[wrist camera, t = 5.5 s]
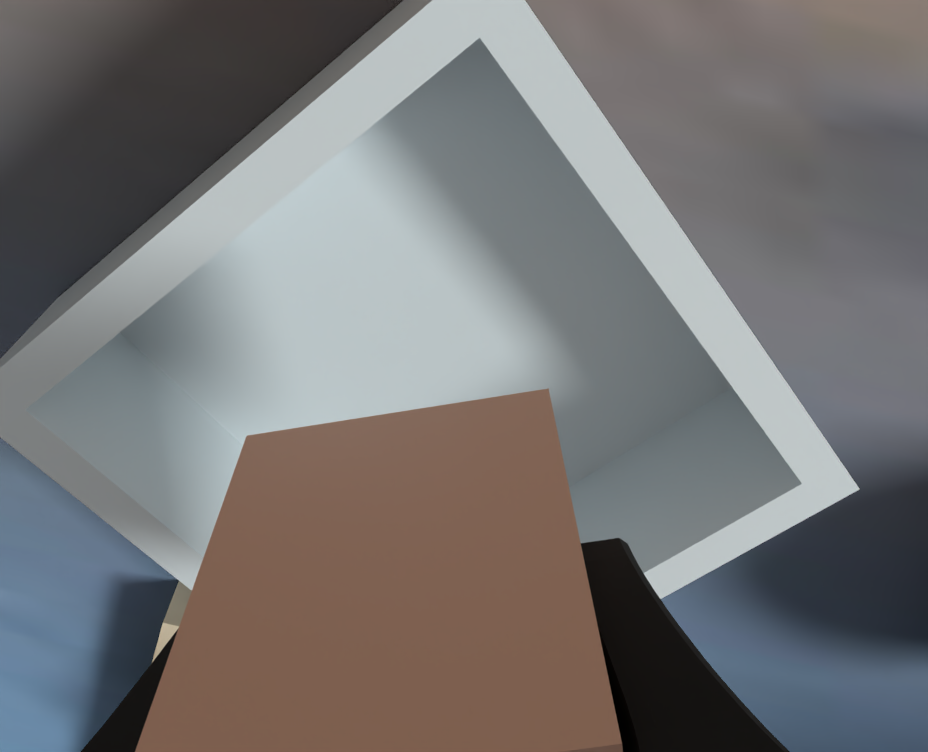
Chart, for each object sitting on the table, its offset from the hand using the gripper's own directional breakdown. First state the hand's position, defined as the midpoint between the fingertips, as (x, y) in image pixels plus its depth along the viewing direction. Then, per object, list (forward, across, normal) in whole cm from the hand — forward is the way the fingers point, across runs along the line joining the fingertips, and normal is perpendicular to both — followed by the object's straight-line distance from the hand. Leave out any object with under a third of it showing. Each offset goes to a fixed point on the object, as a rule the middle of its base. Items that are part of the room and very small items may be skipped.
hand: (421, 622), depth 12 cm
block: (+2, 0, 0) cm, 2 cm away
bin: (+9, 0, 0) cm, 9 cm away
